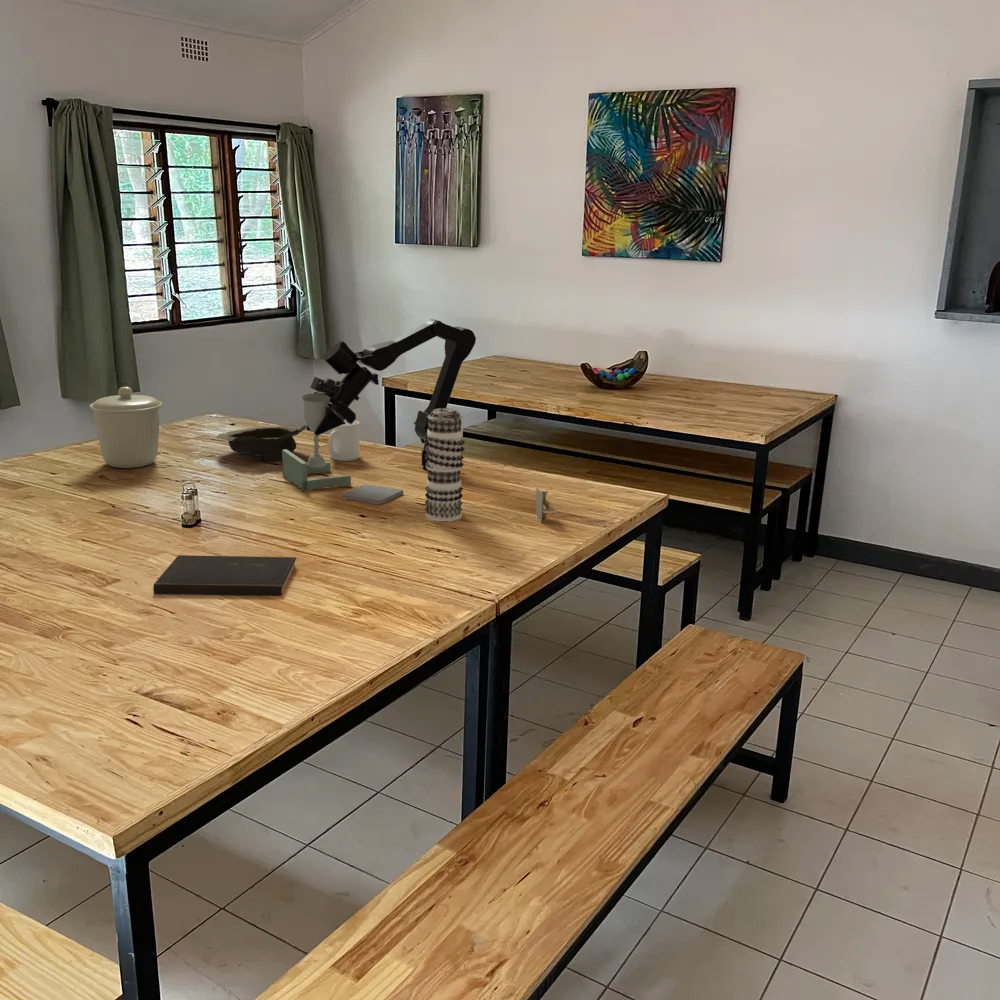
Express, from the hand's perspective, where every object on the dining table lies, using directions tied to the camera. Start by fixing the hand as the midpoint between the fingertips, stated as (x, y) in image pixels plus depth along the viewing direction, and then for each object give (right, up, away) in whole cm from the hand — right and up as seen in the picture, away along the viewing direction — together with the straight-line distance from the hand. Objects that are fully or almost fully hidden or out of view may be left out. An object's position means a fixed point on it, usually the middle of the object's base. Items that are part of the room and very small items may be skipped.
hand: (311, 432), depth 249 cm
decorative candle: (+35, -21, -23) cm, 47 cm away
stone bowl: (-20, -5, +28) cm, 35 cm away
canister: (-52, -8, +15) cm, 54 cm away
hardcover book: (-3, -33, -65) cm, 73 cm away
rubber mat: (+17, -16, -8) cm, 25 cm away
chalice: (0, -8, +5) cm, 9 cm away
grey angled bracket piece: (+58, -23, -22) cm, 66 cm away
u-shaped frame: (+1, -12, +4) cm, 13 cm away
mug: (+3, -6, +26) cm, 27 cm away
